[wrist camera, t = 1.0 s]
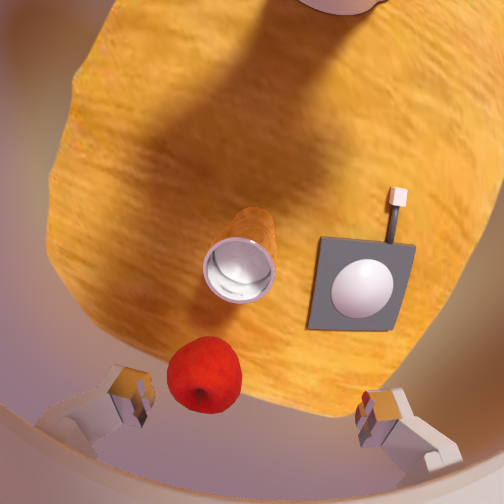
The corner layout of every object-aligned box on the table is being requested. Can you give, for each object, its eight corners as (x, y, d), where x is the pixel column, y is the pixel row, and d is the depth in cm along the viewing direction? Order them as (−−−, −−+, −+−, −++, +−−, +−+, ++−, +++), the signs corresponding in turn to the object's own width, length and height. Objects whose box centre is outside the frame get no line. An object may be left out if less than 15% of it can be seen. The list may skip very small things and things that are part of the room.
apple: (180, 360, 49) (158, 412, 37) (184, 312, 45) (155, 365, 33) (241, 376, 49) (230, 432, 37) (253, 329, 45) (244, 388, 32)
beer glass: (236, 255, 41) (213, 310, 27) (223, 209, 38) (190, 244, 24) (283, 245, 39) (284, 299, 25) (272, 198, 37) (267, 227, 23)
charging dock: (326, 177, 35) (328, 179, 34) (422, 191, 34) (427, 193, 33) (307, 325, 44) (308, 330, 42) (391, 327, 42) (393, 332, 41)
